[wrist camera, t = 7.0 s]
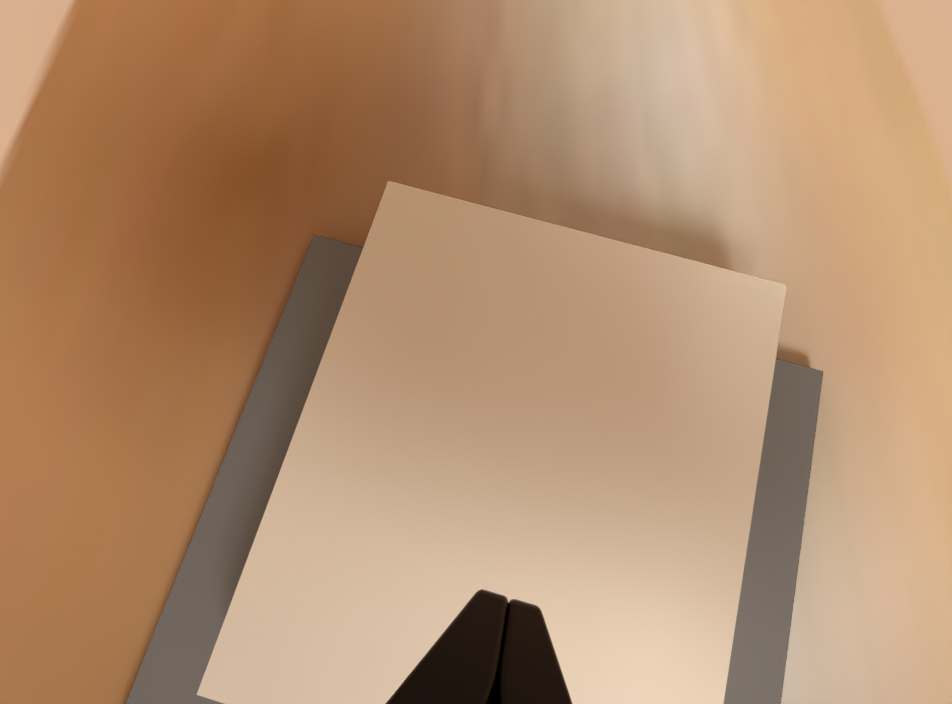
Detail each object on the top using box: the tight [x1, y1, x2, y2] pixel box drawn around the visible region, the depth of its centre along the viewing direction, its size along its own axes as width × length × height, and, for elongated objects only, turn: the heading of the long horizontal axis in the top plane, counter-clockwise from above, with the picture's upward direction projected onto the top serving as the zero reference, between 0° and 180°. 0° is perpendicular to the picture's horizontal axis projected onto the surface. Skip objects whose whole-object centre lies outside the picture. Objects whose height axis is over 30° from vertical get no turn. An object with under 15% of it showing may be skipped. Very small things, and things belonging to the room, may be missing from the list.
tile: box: [197, 181, 787, 704], centre depth 16 cm, size 2×10×12 cm
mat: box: [126, 235, 823, 704], centre depth 16 cm, size 18×14×1 cm
